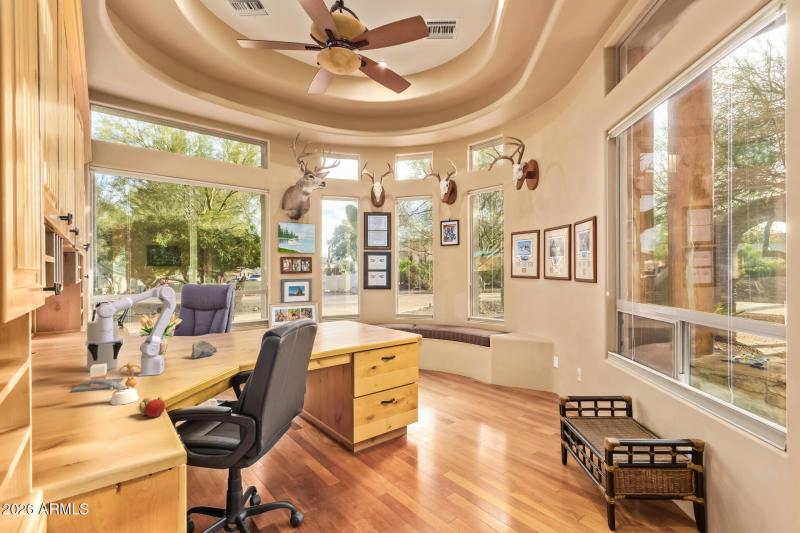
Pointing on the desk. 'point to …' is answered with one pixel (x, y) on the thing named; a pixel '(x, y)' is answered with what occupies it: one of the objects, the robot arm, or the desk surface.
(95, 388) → the baseplate
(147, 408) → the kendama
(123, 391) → the inkwell
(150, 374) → the robot arm
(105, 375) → the terracotta brick
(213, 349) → the mineral rock
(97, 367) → the cream brick
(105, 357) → the cylinder vase
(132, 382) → the figurine
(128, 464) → the desk surface
